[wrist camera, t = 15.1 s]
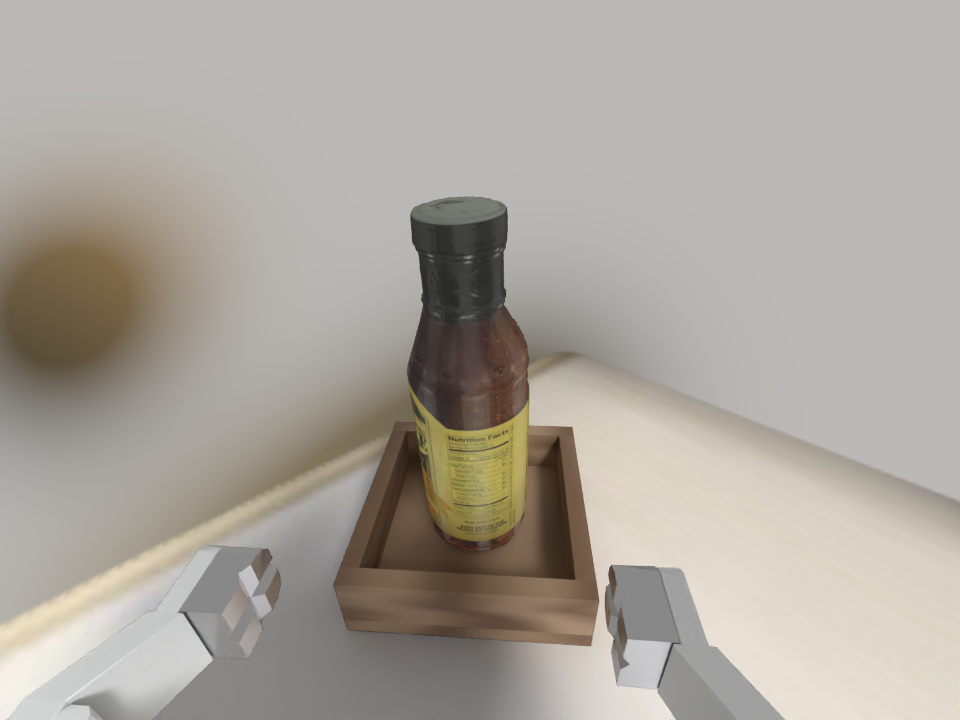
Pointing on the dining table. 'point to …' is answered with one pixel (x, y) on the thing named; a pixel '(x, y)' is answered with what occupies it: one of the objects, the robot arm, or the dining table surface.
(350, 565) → the brown wooden tray
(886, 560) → the dining table surface
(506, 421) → the sauce bottle
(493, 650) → the dining table surface
